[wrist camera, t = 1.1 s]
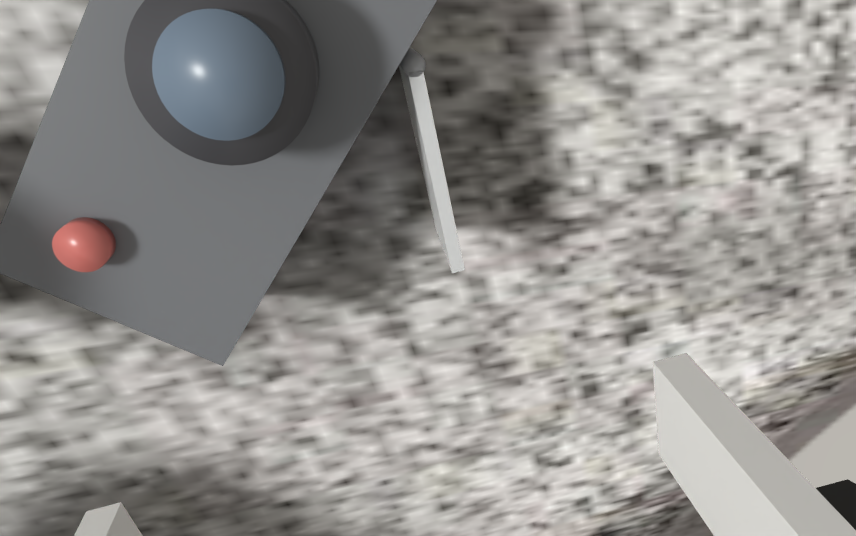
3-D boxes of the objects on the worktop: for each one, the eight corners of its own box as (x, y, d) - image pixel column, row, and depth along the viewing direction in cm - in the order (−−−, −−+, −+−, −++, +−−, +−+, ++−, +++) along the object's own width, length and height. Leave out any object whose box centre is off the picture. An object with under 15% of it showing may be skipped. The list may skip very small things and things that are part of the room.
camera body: (250, 296, 33) (213, 410, 24) (62, 208, 29) (-65, 302, 20) (422, -1, 27) (458, 0, 18) (215, -148, 24) (135, -235, 15)
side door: (449, 226, 32) (468, 269, 27) (433, 229, 32) (448, 273, 27) (409, 40, 28) (422, 50, 22) (390, 45, 28) (400, 56, 22)
